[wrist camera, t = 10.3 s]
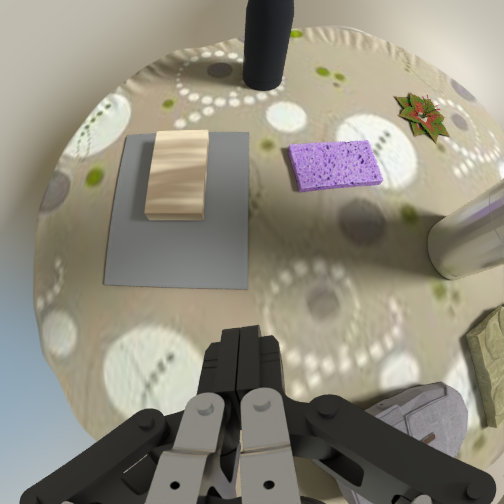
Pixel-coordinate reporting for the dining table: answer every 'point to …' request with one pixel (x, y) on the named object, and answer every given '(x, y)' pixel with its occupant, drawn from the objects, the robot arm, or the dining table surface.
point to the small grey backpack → (422, 421)
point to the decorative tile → (490, 364)
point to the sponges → (334, 165)
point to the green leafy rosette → (428, 110)
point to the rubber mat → (182, 223)
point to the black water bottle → (266, 42)
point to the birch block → (178, 176)
